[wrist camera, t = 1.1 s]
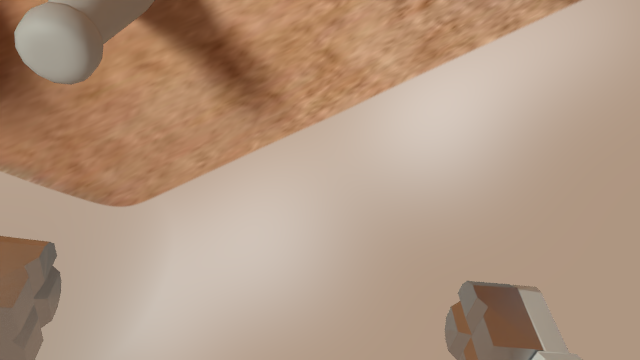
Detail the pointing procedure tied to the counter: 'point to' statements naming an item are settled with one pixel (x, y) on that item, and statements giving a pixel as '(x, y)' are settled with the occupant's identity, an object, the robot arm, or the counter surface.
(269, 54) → the counter surface
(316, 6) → the counter surface
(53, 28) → the salt shaker
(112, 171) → the counter surface
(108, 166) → the counter surface
